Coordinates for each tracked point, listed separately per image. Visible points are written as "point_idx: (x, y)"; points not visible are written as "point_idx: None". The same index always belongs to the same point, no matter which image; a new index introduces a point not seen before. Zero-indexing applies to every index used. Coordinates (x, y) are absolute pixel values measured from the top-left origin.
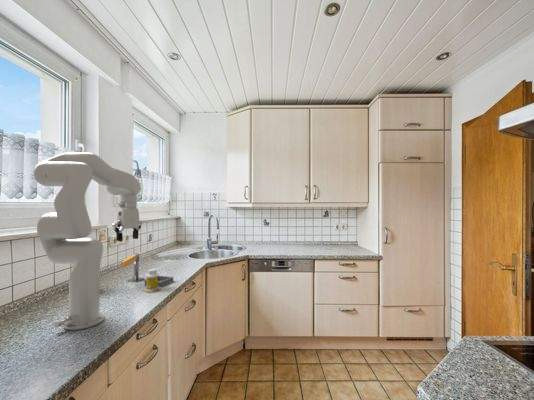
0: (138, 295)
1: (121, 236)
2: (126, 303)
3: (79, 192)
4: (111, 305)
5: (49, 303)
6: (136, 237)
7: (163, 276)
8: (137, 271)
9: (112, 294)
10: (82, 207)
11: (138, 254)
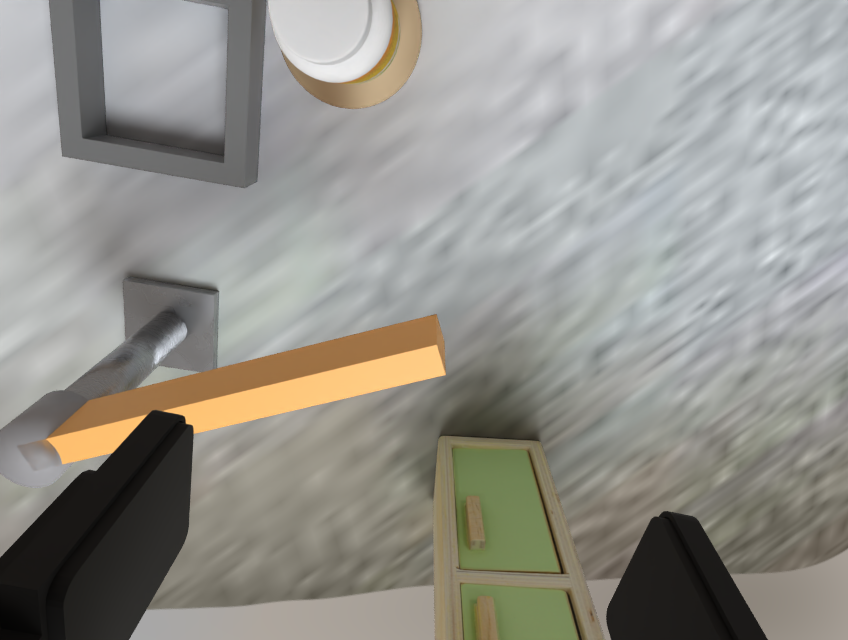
0: (498, 73)
1: (747, 610)
2: (676, 55)
3: None
4: (713, 146)
5: None
6: (177, 455)
7: (68, 77)
8: (140, 342)
9: (499, 288)
10: None
11: (23, 428)
